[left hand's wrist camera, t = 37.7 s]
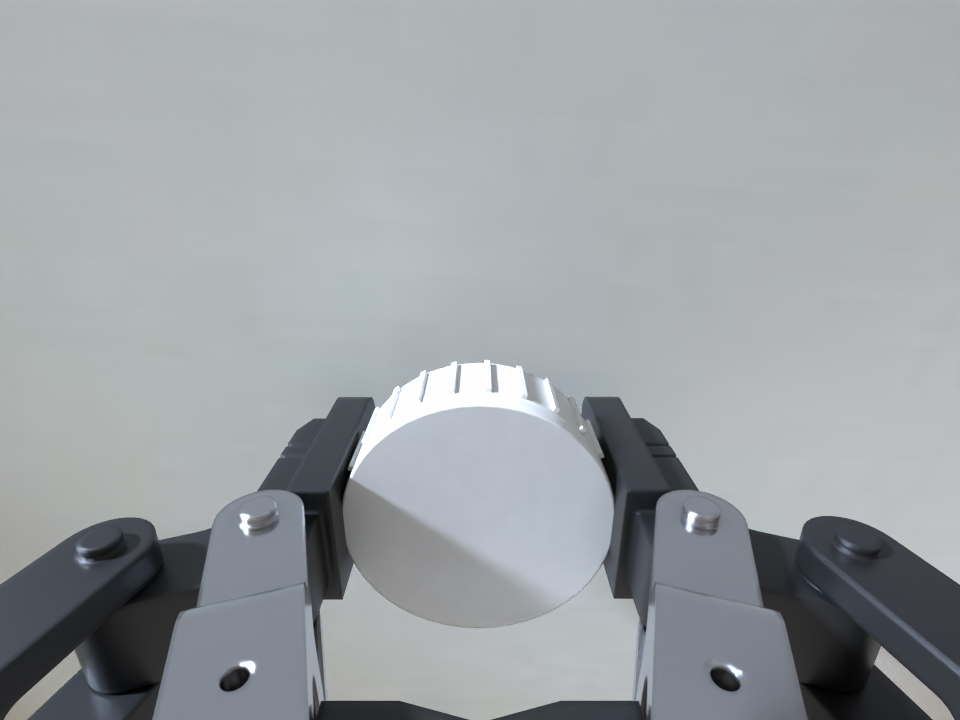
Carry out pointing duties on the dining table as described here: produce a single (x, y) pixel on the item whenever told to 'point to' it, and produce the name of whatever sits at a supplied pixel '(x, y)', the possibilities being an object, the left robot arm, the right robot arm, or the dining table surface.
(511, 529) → the lid
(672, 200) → the dining table surface
